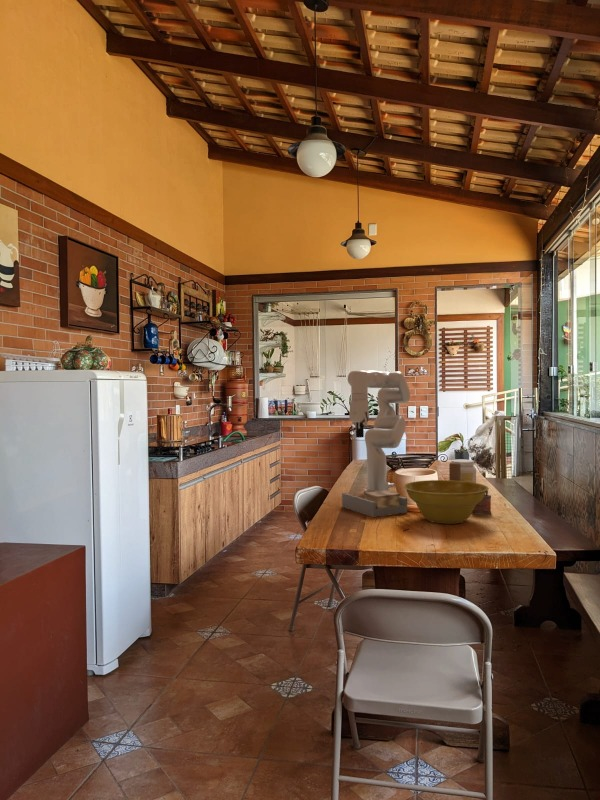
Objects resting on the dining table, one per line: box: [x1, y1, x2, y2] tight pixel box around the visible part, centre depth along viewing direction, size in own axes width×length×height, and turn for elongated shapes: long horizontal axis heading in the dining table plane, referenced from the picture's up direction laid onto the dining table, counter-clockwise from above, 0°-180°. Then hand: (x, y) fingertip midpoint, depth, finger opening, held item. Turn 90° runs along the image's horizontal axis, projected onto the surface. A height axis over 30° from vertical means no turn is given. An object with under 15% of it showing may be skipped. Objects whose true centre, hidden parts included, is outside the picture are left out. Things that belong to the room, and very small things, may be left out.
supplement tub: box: [450, 458, 477, 483], centre depth 270 cm, size 12×12×17 cm
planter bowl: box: [403, 479, 489, 525], centre depth 222 cm, size 32×32×13 cm
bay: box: [341, 490, 408, 518], centre depth 242 cm, size 17×23×6 cm
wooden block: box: [448, 462, 461, 481], centre depth 252 cm, size 9×4×18 cm, turn 70°
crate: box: [363, 490, 401, 509], centre depth 236 cm, size 11×9×6 cm
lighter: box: [471, 489, 492, 515], centre depth 233 cm, size 8×3×10 cm, turn 65°
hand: (359, 437), depth 263 cm, fingers closed
